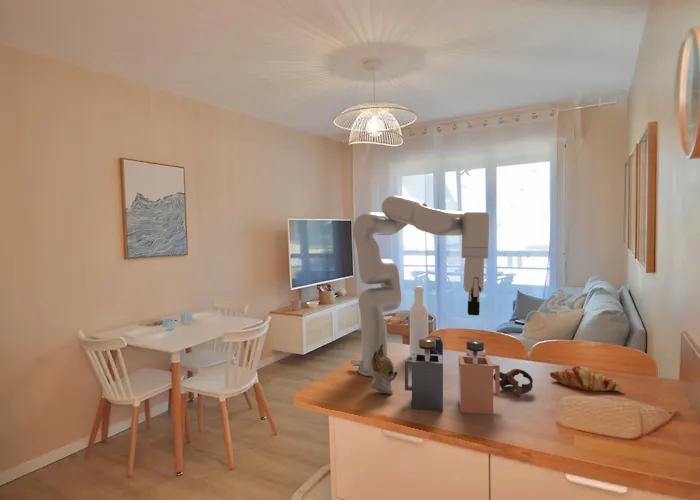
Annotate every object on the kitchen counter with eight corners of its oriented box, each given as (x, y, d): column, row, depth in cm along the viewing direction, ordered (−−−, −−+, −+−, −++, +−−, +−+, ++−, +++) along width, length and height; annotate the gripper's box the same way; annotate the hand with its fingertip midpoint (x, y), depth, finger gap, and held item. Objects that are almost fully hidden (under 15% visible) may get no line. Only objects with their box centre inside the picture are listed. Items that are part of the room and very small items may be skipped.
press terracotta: (460, 412, 120) (460, 364, 119) (458, 400, 128) (458, 355, 128) (501, 415, 117) (501, 366, 117) (496, 402, 126) (496, 357, 126)
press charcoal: (404, 408, 123) (403, 361, 122) (405, 396, 132) (405, 353, 131) (442, 410, 121) (442, 363, 120) (442, 399, 129) (442, 354, 129)
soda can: (422, 370, 157) (422, 339, 157) (426, 365, 163) (426, 335, 163) (441, 372, 154) (441, 340, 154) (444, 367, 161) (444, 336, 160)
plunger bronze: (417, 402, 124) (417, 342, 123) (418, 395, 129) (417, 337, 129) (437, 404, 122) (437, 343, 122) (437, 396, 128) (436, 338, 128)
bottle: (409, 354, 179) (408, 285, 178) (427, 354, 178) (427, 285, 177) (410, 359, 171) (409, 287, 170) (429, 359, 170) (429, 287, 169)
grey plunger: (465, 406, 121) (465, 344, 120) (464, 398, 127) (464, 339, 126) (486, 407, 120) (486, 345, 119) (484, 399, 125) (484, 340, 125)
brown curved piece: (524, 387, 141) (533, 370, 136) (527, 409, 133) (537, 392, 128) (488, 376, 142) (496, 359, 138) (490, 398, 134) (498, 380, 130)
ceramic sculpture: (394, 401, 128) (393, 353, 128) (366, 398, 131) (366, 351, 130) (400, 388, 138) (399, 344, 138) (374, 386, 141) (374, 342, 140)
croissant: (621, 400, 136) (621, 375, 139) (623, 395, 129) (623, 369, 131) (550, 387, 147) (552, 364, 150) (548, 381, 140) (549, 358, 142)
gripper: (460, 251, 130) (458, 309, 131) (463, 254, 115) (462, 319, 116) (484, 251, 128) (483, 310, 129) (491, 254, 114) (490, 320, 115)
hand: (473, 314), depth 123 cm, fingers closed
